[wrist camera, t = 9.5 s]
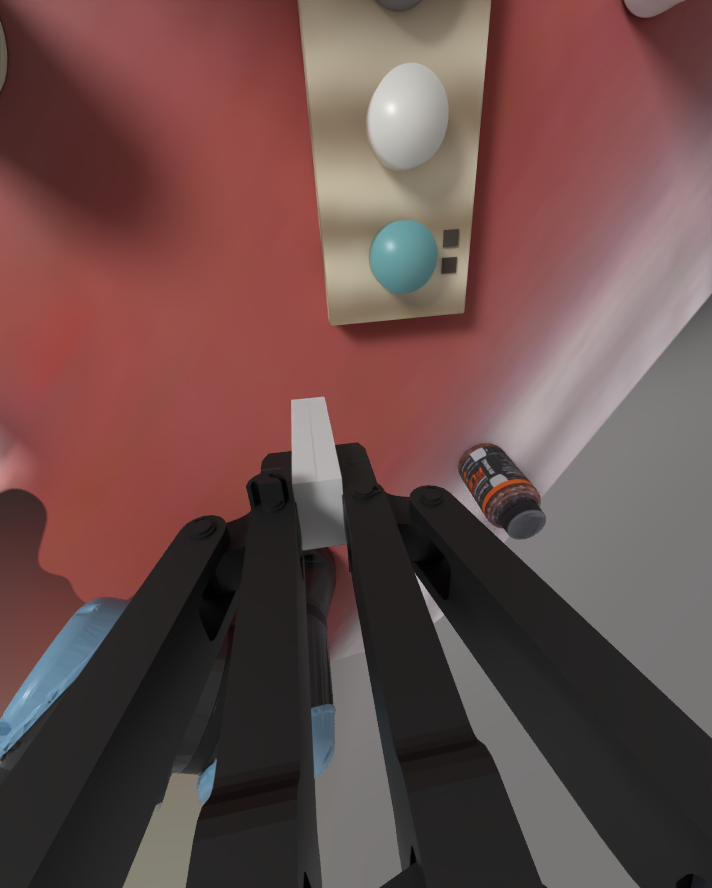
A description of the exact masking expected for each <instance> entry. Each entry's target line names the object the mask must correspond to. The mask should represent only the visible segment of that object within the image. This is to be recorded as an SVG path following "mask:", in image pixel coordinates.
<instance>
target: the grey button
mask: <svg viewBox="0 0 712 888" xmlns="http://www.w3.org/2000/svg"><path fill="white" fill-rule="evenodd" d="M375 1H376V2H377V3H379V4H380V5H381V6H383V7H384V8H386V9H388V10H392V11H399V12H400V11H406V10H409V9H411V8H413V7H415V6H416V5H417V4H419V3H420V2H421V1H422V0H375Z"/></svg>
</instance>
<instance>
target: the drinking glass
mask: <svg viewBox="0 0 712 888" xmlns="http://www.w3.org/2000/svg"><path fill="white" fill-rule="evenodd" d="M683 1H685V0H624V3H625V5H626V7H627V8H628V10H629V11H630V12H631V13H632V14H634V15H635V16H637V17H641V18H649V17H654V16H657V15H659V14H661V13H663V12H665V11H667V10H668V9H670V8H672V7H674V6H676V5H677V4H679V3H681V2H683Z"/></svg>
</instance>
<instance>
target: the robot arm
mask: <svg viewBox="0 0 712 888" xmlns="http://www.w3.org/2000/svg"><path fill="white" fill-rule="evenodd" d="M291 426H292V451H288V452H280V453H271V454H268V455H267V456H266V457H265V458H264V460H263V461H262V465H261V473H260V474H259V475H256V476H254V477H253V478H252V479H251V480H249V481H248V483H247V485H246V488H247V493H248V497H249V501H250V505H251V511H250V512H249V513H248V514H246V515H245V516H243V517H241V518H239V519H236V520H234V521H231V522H228V523H225V520H224V519H222V518H221V517H219V516H214V515H210V516H202V517H199V518H197V519H194V520H192V521H191V522H189V523H187V524H186V525H185V526H184V527H183V528H182V529H181V530H180V532H179V533H178V534H177V536H176V537H175V539H174V540H173V541H172V543H171V544H170V546H169V547H168V549H167V550H166V551H165V553H164V554H163V556H162V557H161V559H160V560H159V561H158V563H157V564H156V566H155V567H154V569H153V570H152V571H151V573H150V574H149V576H148V577H147V579H146V580H145V581H144V583H143V584H142V586H141V587H140V588H139V590H138V591H137V593H136V594H135V596H134V597H133V598H132V600H131V601H128V600H123V599H117V598H111V597H100V598H96V599H94V600H91V601H89V602H88V603H86V604H85V605H83V606H82V607H81V608H80V609H79V610H78V611H77V612H76V613H75V614H74V615H73V617H72V618H71V619H70V620H69V621H68V623H67V624H66V625H65V626H64V628H63V629H62V631H61V632H60V633H59V634H58V636H57V637H56V638H55V640H54V641H53V642H52V644H51V645H50V646H49V648H48V649H47V650H46V652H45V653H44V655H43V656H42V657H41V659H40V660H39V662H38V663H37V665H36V666H35V667H34V669H33V670H32V672H31V673H30V675H29V676H28V677H27V679H26V680H25V682H24V683H23V685H22V686H21V688H20V689H19V691H18V692H17V694H16V695H15V697H14V698H13V699H12V701H11V703H10V704H9V706H8V707H7V709H6V710H5V712H4V715H3V716H2V718H1V719H0V761H2V762H1V764H0V888H122V887H123V885H124V882H125V880H126V878H127V875H128V872H129V870H130V868H131V865H132V863H133V861H134V858H135V856H136V853H137V851H138V848H139V846H140V843H141V841H142V839H143V836H144V834H145V831H146V829H147V826H148V824H149V821H150V819H151V816H152V815H153V814H154V813H155V812H156V811H157V810H158V809H159V808H160V807H161V805H162V802H163V799H164V795H165V792H166V789H167V786H168V782H169V779H170V777H171V775H172V773H185V774H196V775H199V776H200V777H199V779H198V783H197V789H198V796H199V799H200V801H201V802H202V804H204V805H203V806H202V809H201V812H200V815H199V817H198V820H197V825H196V830H195V835H194V840H193V845H192V851H191V858H190V864H189V871H188V877H187V883H186V888H322V879H321V866H320V855H319V846H318V836H317V820H316V799H315V779H316V778H317V777H318V776H320V775H321V774H322V773H323V772H324V771H325V769H326V768H327V767H328V765H329V763H330V762H331V759H332V756H333V753H334V744H335V742H334V715H335V707H334V705H333V694H332V682H331V671H330V657H329V645H328V633H327V615H328V612H329V608H330V604H331V600H332V597H333V593H334V589H335V585H336V569H335V561H334V558H333V556H332V554H331V552H330V551H329V549H328V548H327V547H329V546H336V545H343V544H347V549H348V561H349V572H351V575H352V581H353V586H354V592H355V597H356V603H357V609H358V614H359V620H360V626H361V631H362V637H363V642H364V648H365V654H366V659H367V665H368V670H369V676H370V682H371V687H372V693H373V699H374V704H375V710H376V715H377V721H378V727H379V732H380V738H381V743H382V748H383V754H384V760H385V766H386V771H387V777H388V783H389V788H390V794H391V799H392V805H393V811H394V818H395V824H396V833H397V842H398V847H399V855H400V861H401V867H402V872H401V873H400V874H398V875H397V876H395V877H394V878H393V879H391V880H390V881H388V882H387V883H386V884H384V885H383V886H381V887H380V888H547V887H546V886H545V885H543V884H542V882H541V880H540V878H539V875H538V872H537V869H536V867H535V864H534V862H533V859H532V857H531V854H530V851H529V849H528V846H527V844H526V841H525V838H524V836H523V833H522V831H521V828H520V825H519V823H518V820H517V818H516V815H515V813H514V810H513V807H512V805H511V802H510V800H509V797H508V794H507V792H506V789H505V787H504V784H503V782H502V779H501V776H500V774H499V771H498V769H497V767H496V765H495V762H494V760H493V758H492V756H491V754H490V752H489V751H488V749H487V747H486V746H485V745H484V744H483V743H482V742H480V741H479V740H478V739H477V738H476V736H475V734H474V733H473V730H472V728H471V725H470V723H469V720H468V718H467V715H466V712H465V709H464V707H463V704H462V701H461V698H460V695H459V693H458V690H457V687H456V685H455V682H454V679H453V676H452V674H451V671H450V668H449V665H448V663H447V660H446V657H445V655H444V652H443V649H442V647H441V644H440V641H439V638H438V635H437V633H436V630H435V627H434V625H433V622H432V619H431V616H430V614H429V611H428V608H427V605H426V603H425V600H424V597H423V594H422V592H421V589H420V586H419V583H418V581H417V578H416V575H417V576H418V578H419V579H420V581H421V582H422V584H423V585H424V586H425V588H426V589H427V591H428V592H429V594H430V595H431V596H432V598H433V599H434V601H435V602H436V603H437V605H438V606H439V608H440V609H441V611H442V612H443V613H444V615H445V616H446V618H447V619H448V621H449V622H450V623H451V625H452V626H453V628H454V629H455V631H456V632H457V633H458V635H459V636H460V638H461V639H462V640H463V642H464V643H465V645H466V646H467V648H468V649H469V650H470V652H471V653H472V655H473V656H474V657H475V659H476V660H477V662H478V663H479V665H480V666H481V667H482V669H483V670H484V672H485V673H486V675H487V676H488V677H489V679H490V680H491V682H492V683H493V685H494V686H495V687H496V689H497V690H498V691H499V693H500V694H501V696H502V697H503V699H504V700H505V702H506V703H507V704H508V706H509V707H510V709H511V710H512V712H513V713H514V714H515V716H516V717H517V719H518V720H519V722H520V723H521V724H522V726H523V727H524V729H525V730H526V732H527V733H528V734H529V736H530V737H531V739H532V740H533V741H534V743H535V744H536V746H537V747H538V749H539V750H540V751H541V753H542V754H543V756H544V757H545V759H546V760H547V761H548V763H549V764H550V766H551V767H552V768H553V770H554V771H555V773H556V774H557V775H558V777H559V778H560V780H561V781H562V783H563V784H564V786H565V787H566V788H567V790H568V791H569V793H570V794H571V795H572V797H573V798H574V800H575V801H576V802H577V804H578V805H579V807H580V808H581V810H582V811H583V812H584V814H585V815H586V817H587V818H588V820H589V821H590V822H591V824H592V825H593V827H594V828H595V830H596V831H597V832H598V834H599V835H600V837H601V838H602V839H603V841H604V842H605V843H606V845H607V846H608V847H609V849H610V850H611V851H612V853H613V854H614V855H615V857H616V858H617V859H618V860H619V862H620V863H621V865H622V866H623V867H624V869H625V870H626V871H627V873H628V874H629V875H630V876H631V877H632V879H633V880H634V881H635V882H636V883H637V884H638V886H639V887H640V888H712V738H711V737H709V736H708V735H707V734H706V733H705V732H704V731H703V730H702V729H701V728H700V727H699V726H698V725H697V724H696V723H694V722H693V721H692V720H691V719H690V718H689V717H688V716H687V715H686V714H685V713H684V712H682V710H681V709H680V708H679V707H678V706H676V705H675V704H674V703H673V702H672V701H671V700H670V699H669V698H668V697H667V696H666V695H665V694H664V693H663V692H661V690H659V689H658V688H657V687H656V686H655V685H654V684H653V683H652V682H651V681H650V680H649V679H648V678H647V677H645V675H643V674H642V673H641V672H640V671H639V670H638V669H637V668H636V667H635V666H634V665H633V664H632V663H631V662H629V660H627V659H626V658H625V657H624V656H623V655H622V654H621V653H620V652H619V651H618V650H617V649H616V648H615V647H614V646H613V645H612V644H610V643H609V642H608V641H607V640H606V639H605V638H604V637H603V636H602V635H601V634H600V633H599V632H598V631H597V630H596V629H594V628H593V627H592V626H591V625H590V624H589V623H588V622H587V621H586V620H585V619H584V618H583V617H582V616H581V615H579V613H577V612H576V611H575V610H574V609H573V608H572V607H571V606H570V605H569V604H568V603H567V602H566V601H565V600H564V599H563V598H561V597H560V596H559V595H558V594H557V593H556V592H555V591H554V590H553V589H552V588H551V587H550V586H549V585H548V584H547V583H546V582H544V581H543V580H542V579H541V578H540V577H539V576H538V575H537V574H536V573H535V572H534V571H533V570H532V569H530V567H528V566H527V565H526V564H525V563H524V562H523V561H522V560H521V559H520V558H519V557H518V556H517V555H516V554H515V553H514V552H512V551H511V550H510V549H509V548H508V547H507V546H506V545H505V544H504V543H503V542H502V541H501V540H500V539H499V538H498V537H497V536H495V535H494V534H493V533H492V532H491V531H490V530H489V529H488V528H487V527H486V526H485V525H484V524H483V523H482V522H481V521H479V520H478V519H477V518H476V517H475V516H474V515H473V514H472V513H471V512H470V511H469V510H468V509H467V508H466V507H465V506H464V505H462V504H461V503H460V502H459V501H458V500H457V499H456V498H455V497H454V496H453V495H452V494H451V493H450V492H448V491H447V490H445V489H444V488H441V487H437V486H430V485H427V486H421V487H418V488H416V489H414V490H413V491H412V492H411V494H410V497H401V496H394V495H391V494H388V493H386V492H385V491H384V489H383V488H382V486H381V485H379V484H377V481H376V478H375V475H374V472H373V469H372V467H371V464H370V461H369V458H368V455H367V452H366V450H365V448H364V447H363V446H361V445H360V444H359V443H349V444H340V445H335V444H334V440H333V435H332V430H331V426H330V421H329V416H328V412H327V407H326V402H325V398H324V397H317V398H307V399H298V400H291ZM414 572H415V573H414ZM415 574H416V575H415Z"/></svg>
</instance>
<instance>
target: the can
mask: <svg viewBox="0 0 712 888" xmlns="http://www.w3.org/2000/svg"><path fill="white" fill-rule="evenodd" d="M6 73H7V48H6V40H5V35H4V31H3V27H2V24H1V21H0V91H1V89H2V87H3V84H4V82H5V78H6Z"/></svg>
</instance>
